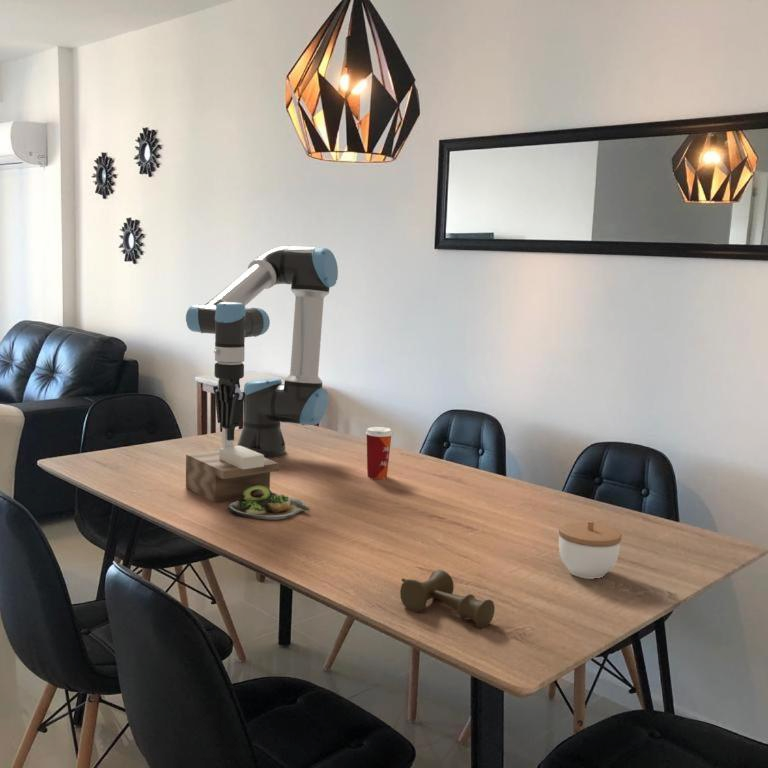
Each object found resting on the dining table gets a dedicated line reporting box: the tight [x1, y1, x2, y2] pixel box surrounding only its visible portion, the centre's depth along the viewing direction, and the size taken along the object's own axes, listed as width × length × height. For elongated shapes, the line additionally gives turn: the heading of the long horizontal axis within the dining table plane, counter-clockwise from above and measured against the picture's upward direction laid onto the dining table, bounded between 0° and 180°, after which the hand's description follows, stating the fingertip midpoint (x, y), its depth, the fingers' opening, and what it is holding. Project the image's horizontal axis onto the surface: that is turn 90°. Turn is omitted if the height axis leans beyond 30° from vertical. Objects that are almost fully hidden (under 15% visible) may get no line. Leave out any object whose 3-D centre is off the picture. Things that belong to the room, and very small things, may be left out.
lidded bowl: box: [558, 520, 623, 580], centre depth 174 cm, size 13×13×11 cm
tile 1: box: [219, 445, 250, 464], centre depth 218 cm, size 6×6×3 cm
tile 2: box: [231, 450, 265, 469], centre depth 213 cm, size 6×6×3 cm
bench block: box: [185, 449, 280, 503], centre depth 220 cm, size 20×16×9 cm
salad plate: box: [227, 485, 311, 521], centre depth 207 cm, size 19×18×5 cm
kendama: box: [399, 569, 495, 629], centre depth 153 cm, size 6×10×20 cm
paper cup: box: [365, 426, 393, 480], centre depth 241 cm, size 8×8×14 cm
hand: (227, 451), depth 221 cm, fingers closed
